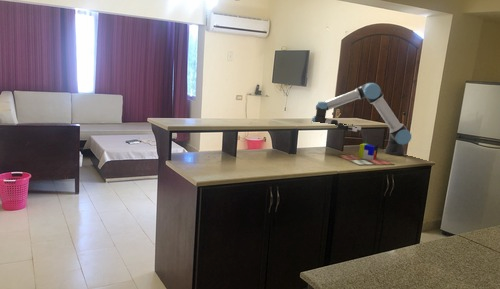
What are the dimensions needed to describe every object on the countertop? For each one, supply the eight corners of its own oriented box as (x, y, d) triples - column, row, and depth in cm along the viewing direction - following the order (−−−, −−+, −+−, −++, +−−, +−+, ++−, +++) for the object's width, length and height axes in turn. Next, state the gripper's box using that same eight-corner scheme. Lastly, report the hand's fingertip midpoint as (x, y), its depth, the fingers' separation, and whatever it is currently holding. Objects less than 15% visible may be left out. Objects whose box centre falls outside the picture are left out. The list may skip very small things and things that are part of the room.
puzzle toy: (371, 160, 284) (373, 146, 282) (358, 157, 289) (360, 144, 288) (376, 158, 292) (378, 145, 290) (363, 155, 297) (365, 143, 296)
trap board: (369, 155, 299) (370, 154, 299) (394, 164, 272) (394, 164, 272) (336, 155, 290) (336, 155, 290) (358, 165, 263) (358, 164, 263)
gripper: (335, 127, 312) (361, 132, 302) (326, 130, 290) (354, 135, 280) (336, 118, 310) (363, 123, 301) (327, 120, 288) (356, 125, 279)
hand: (359, 129), depth 291 cm, fingers open, 13 cm apart
